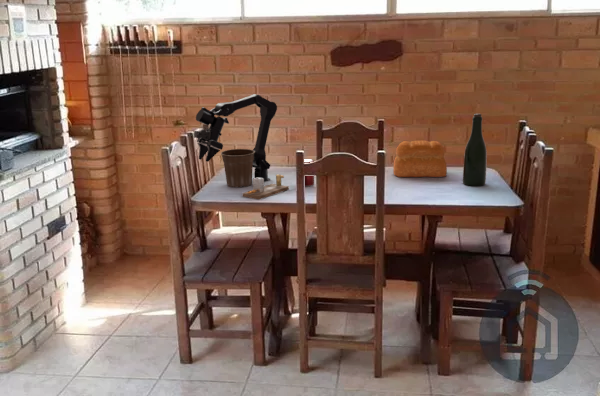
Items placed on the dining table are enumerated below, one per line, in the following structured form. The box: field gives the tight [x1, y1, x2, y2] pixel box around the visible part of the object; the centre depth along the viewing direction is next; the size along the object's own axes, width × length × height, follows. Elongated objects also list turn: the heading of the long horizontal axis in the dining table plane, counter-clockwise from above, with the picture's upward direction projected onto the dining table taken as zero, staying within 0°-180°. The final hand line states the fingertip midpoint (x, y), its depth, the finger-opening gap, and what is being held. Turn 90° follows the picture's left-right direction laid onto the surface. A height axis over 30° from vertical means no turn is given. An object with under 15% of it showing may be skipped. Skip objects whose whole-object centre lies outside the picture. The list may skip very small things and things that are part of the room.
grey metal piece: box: [247, 177, 265, 194], centre depth 275 cm, size 8×4×6 cm, turn 143°
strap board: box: [242, 183, 290, 200], centre depth 282 cm, size 21×10×2 cm, turn 143°
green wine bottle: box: [462, 113, 488, 187], centre depth 286 cm, size 10×10×33 cm
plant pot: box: [220, 148, 255, 188], centre depth 297 cm, size 16×16×16 cm
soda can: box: [304, 158, 315, 188], centre depth 294 cm, size 7×7×12 cm
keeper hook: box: [275, 174, 285, 186], centre depth 289 cm, size 2×4×5 cm, turn 53°
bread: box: [392, 139, 448, 178], centre depth 310 cm, size 16×26×17 cm, turn 85°
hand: (203, 160), depth 286 cm, fingers open, 9 cm apart
